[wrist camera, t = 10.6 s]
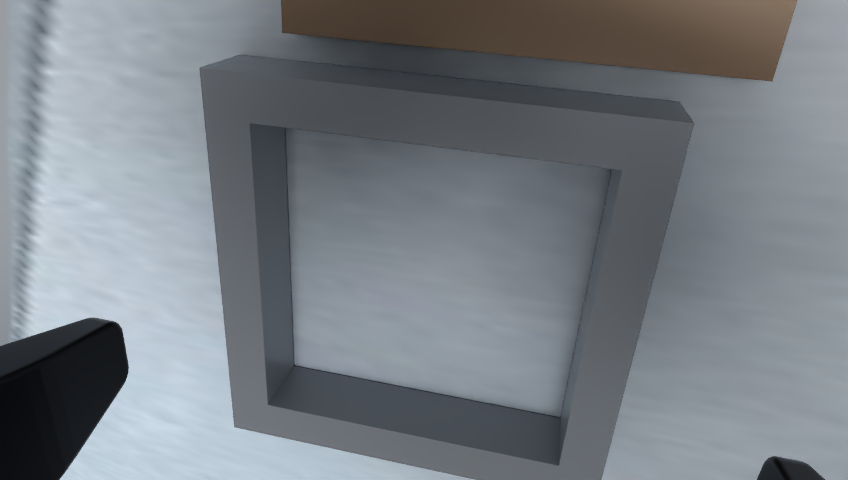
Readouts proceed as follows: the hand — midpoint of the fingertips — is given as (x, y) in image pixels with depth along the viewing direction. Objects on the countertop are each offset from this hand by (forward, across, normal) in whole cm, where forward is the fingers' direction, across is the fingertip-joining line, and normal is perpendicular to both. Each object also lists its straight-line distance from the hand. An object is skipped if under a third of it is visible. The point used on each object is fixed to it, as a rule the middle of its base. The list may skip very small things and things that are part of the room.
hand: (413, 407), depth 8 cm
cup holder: (+13, +2, +5) cm, 14 cm away
